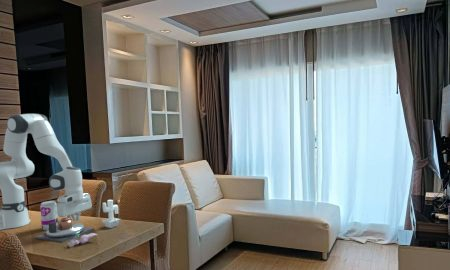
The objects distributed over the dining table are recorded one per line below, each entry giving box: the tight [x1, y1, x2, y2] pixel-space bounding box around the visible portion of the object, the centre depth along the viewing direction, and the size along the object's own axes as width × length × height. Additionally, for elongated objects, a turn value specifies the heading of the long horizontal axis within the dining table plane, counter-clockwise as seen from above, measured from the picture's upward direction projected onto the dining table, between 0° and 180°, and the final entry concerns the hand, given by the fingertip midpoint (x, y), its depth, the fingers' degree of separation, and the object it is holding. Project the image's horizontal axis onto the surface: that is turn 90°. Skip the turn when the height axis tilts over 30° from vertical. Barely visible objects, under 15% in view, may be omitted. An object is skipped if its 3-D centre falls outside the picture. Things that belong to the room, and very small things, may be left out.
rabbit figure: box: [64, 232, 98, 249], centre depth 159 cm, size 6×6×15 cm
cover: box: [57, 217, 73, 230], centre depth 176 cm, size 7×7×5 cm
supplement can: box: [39, 200, 59, 231], centre depth 189 cm, size 8×8×15 cm
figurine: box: [101, 199, 121, 229], centre depth 186 cm, size 7×9×15 cm
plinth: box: [35, 226, 95, 243], centre depth 177 cm, size 20×20×1 cm
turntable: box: [45, 222, 85, 237], centre depth 176 cm, size 18×18×7 cm
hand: (76, 220), depth 183 cm, fingers closed
